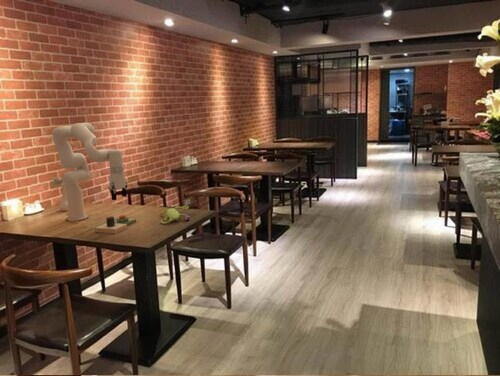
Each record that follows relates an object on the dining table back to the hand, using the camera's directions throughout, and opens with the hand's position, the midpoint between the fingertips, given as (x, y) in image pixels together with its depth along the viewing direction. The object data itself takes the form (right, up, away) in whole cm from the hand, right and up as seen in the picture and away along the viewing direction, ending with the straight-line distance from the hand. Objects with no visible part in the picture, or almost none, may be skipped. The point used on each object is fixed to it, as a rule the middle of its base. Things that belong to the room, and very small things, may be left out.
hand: (119, 198), depth 256 cm
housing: (+1, -16, +4) cm, 16 cm away
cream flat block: (-2, -18, -9) cm, 21 cm away
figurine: (+31, -13, +12) cm, 36 cm away
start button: (+1, -12, +4) cm, 13 cm away
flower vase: (-52, -10, +46) cm, 70 cm away
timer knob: (-2, -16, -10) cm, 19 cm away
